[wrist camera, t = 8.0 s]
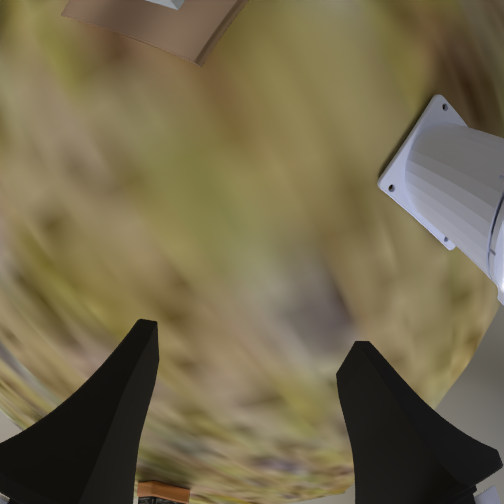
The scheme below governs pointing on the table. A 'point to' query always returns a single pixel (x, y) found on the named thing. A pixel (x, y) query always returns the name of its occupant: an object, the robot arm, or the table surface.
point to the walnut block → (162, 23)
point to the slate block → (169, 3)
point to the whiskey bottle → (161, 493)
